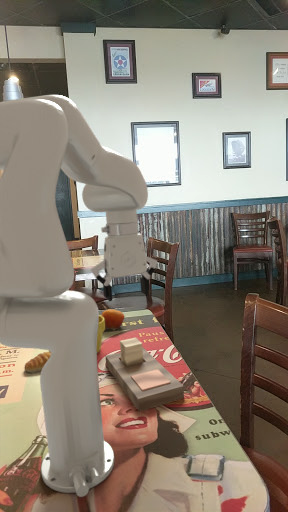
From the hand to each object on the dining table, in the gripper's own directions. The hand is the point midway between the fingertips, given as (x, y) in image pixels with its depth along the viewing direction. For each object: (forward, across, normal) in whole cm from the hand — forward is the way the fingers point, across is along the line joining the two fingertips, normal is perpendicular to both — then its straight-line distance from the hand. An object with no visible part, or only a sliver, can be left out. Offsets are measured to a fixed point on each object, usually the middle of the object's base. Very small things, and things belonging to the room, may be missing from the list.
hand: (127, 296), depth 96 cm
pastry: (+21, -21, +15) cm, 33 cm away
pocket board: (+20, 0, -6) cm, 21 cm away
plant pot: (+20, -7, +18) cm, 28 cm away
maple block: (+20, 0, 0) cm, 20 cm away
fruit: (+21, +5, +32) cm, 38 cm away
